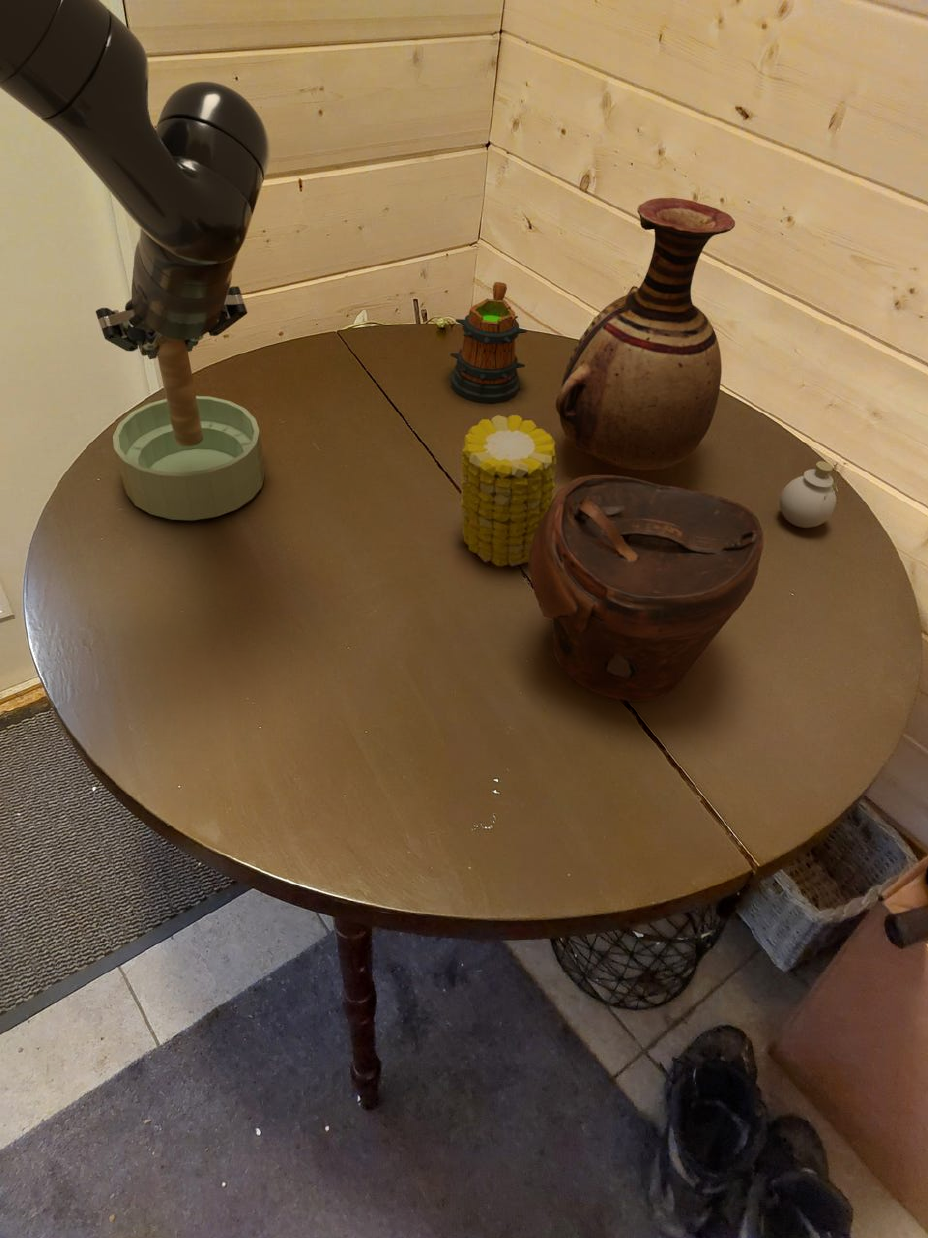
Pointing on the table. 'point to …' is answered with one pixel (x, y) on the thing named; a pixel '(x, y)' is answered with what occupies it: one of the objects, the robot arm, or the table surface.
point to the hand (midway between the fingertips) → (166, 345)
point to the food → (505, 487)
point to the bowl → (190, 461)
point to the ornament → (810, 497)
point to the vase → (649, 354)
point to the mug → (488, 351)
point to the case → (639, 579)
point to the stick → (180, 392)
